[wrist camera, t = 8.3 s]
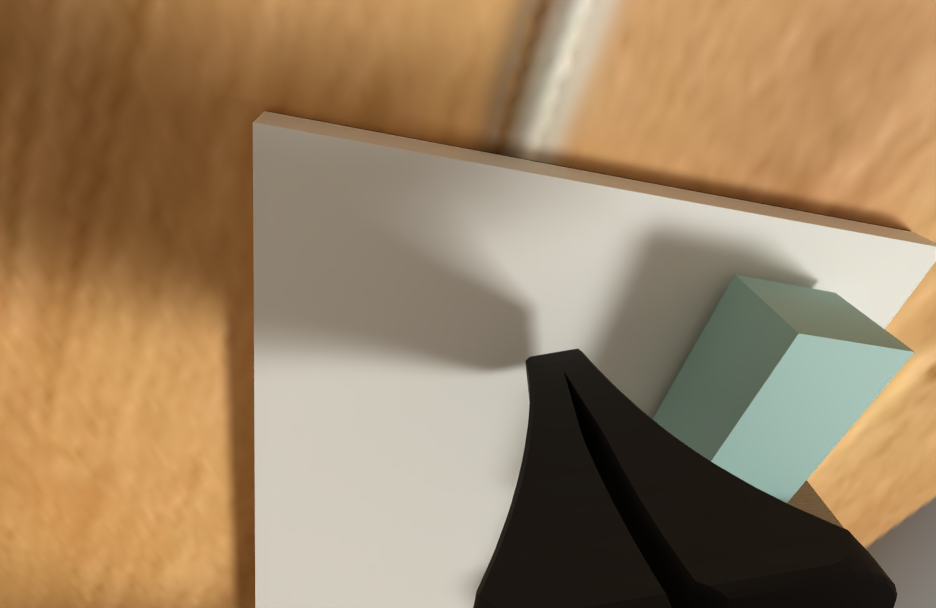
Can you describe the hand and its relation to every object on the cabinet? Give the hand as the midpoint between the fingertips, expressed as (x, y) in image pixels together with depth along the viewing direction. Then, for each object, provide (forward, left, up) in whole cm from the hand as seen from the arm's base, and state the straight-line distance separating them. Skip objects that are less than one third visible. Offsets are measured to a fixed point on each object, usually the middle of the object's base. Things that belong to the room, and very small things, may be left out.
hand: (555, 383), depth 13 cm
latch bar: (-5, -5, -1) cm, 7 cm away
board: (-5, -1, -2) cm, 6 cm away
